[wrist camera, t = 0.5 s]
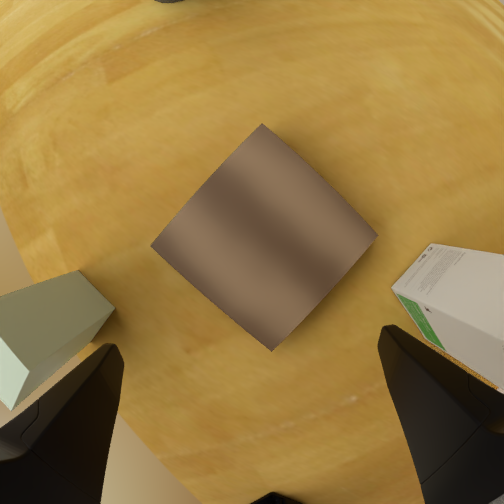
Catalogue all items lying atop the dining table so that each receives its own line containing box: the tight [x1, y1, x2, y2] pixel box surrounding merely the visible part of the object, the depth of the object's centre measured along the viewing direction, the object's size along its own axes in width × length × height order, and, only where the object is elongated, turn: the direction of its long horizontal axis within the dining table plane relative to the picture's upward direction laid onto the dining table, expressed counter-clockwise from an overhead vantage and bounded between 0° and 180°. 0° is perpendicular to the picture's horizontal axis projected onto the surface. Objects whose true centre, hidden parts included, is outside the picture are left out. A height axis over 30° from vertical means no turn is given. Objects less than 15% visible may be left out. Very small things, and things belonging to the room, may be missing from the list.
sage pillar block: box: [0, 270, 115, 411], centre depth 18 cm, size 5×5×13 cm
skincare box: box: [391, 243, 504, 390], centre depth 17 cm, size 8×7×16 cm
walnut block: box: [151, 124, 378, 351], centre depth 22 cm, size 12×12×3 cm
